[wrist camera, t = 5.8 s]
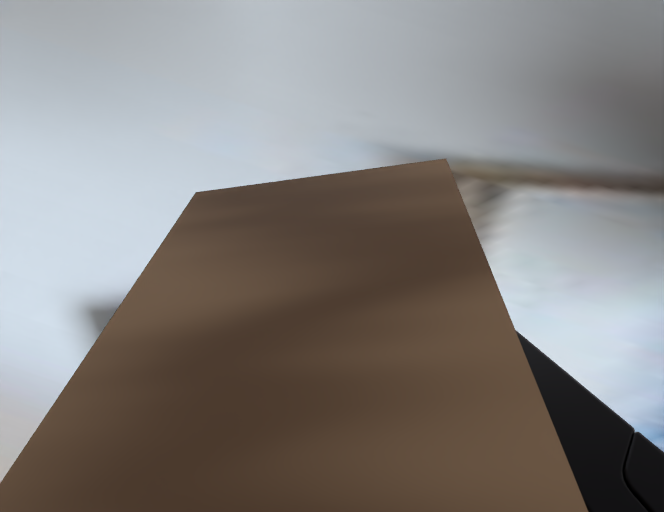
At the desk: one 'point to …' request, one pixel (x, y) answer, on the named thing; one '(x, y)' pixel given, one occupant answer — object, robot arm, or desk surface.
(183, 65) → the desk surface
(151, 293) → the walnut block
